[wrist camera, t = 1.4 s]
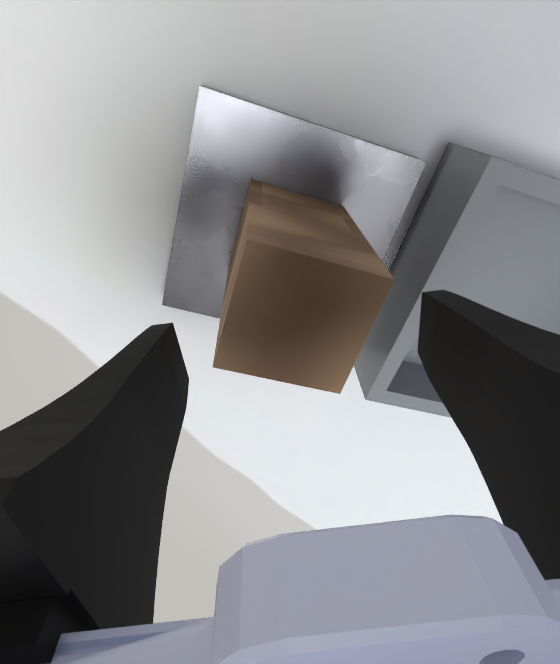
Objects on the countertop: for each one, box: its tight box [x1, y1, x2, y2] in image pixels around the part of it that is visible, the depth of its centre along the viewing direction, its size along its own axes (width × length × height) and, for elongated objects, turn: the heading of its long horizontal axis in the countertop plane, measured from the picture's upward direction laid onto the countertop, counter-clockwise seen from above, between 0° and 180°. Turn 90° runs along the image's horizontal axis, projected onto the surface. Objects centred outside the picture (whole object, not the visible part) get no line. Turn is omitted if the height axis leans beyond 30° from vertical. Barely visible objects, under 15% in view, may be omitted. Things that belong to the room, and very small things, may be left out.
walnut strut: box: [213, 179, 394, 394], centre depth 16 cm, size 4×4×8 cm
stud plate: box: [162, 86, 427, 318], centre depth 18 cm, size 10×10×5 cm
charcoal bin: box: [354, 143, 560, 418], centre depth 21 cm, size 12×12×4 cm
